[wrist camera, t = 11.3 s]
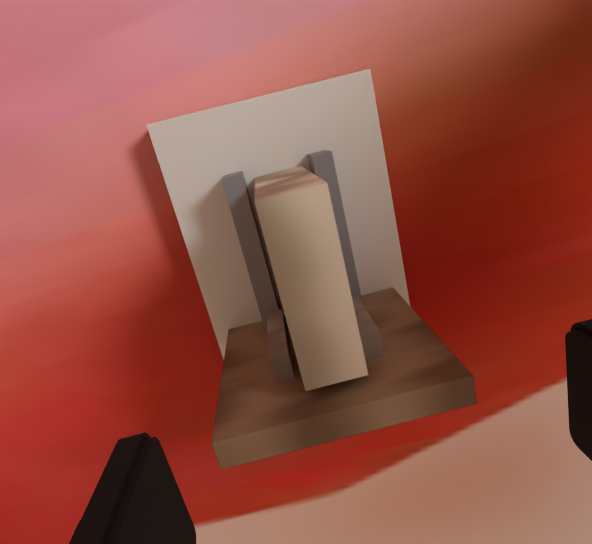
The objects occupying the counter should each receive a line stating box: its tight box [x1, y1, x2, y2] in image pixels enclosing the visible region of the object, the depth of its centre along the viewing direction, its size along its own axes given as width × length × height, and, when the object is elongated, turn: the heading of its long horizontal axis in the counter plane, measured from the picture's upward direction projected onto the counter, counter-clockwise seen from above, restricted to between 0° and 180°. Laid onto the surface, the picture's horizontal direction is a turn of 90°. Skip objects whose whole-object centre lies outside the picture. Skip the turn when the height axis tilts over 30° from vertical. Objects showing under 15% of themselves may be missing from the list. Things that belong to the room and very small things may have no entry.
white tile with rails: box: [147, 69, 410, 360], centre depth 29 cm, size 14×18×4 cm
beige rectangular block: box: [254, 166, 368, 391], centre depth 24 cm, size 3×9×11 cm, turn 14°
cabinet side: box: [212, 287, 477, 470], centre depth 25 cm, size 12×3×12 cm, turn 104°
